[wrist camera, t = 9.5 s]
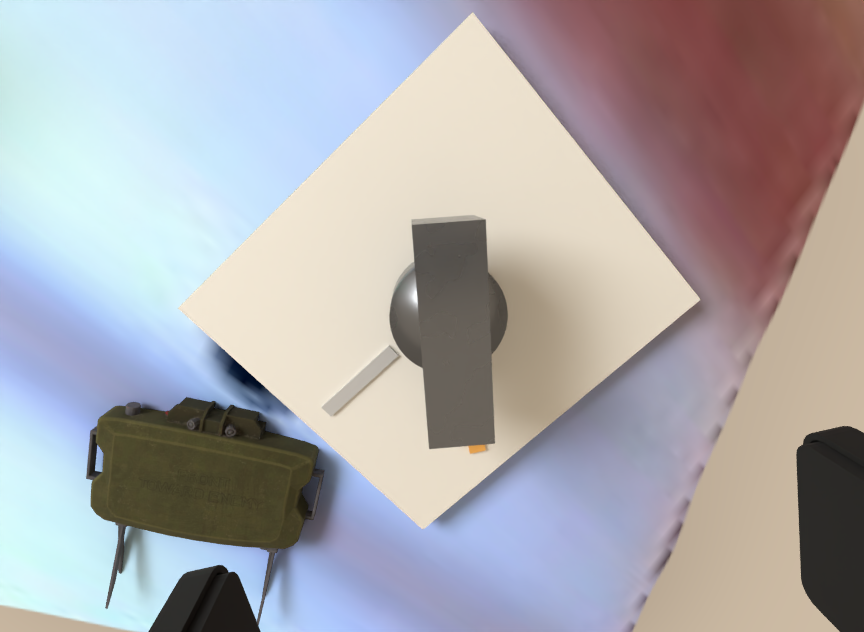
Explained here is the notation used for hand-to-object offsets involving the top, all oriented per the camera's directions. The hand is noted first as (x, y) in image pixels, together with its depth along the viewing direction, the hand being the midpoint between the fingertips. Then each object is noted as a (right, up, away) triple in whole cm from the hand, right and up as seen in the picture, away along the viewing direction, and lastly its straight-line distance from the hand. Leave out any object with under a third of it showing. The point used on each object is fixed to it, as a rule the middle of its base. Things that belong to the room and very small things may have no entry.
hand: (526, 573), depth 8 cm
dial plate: (-1, +5, +21) cm, 22 cm away
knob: (-1, +3, +20) cm, 20 cm away
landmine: (-16, -8, +25) cm, 31 cm away
